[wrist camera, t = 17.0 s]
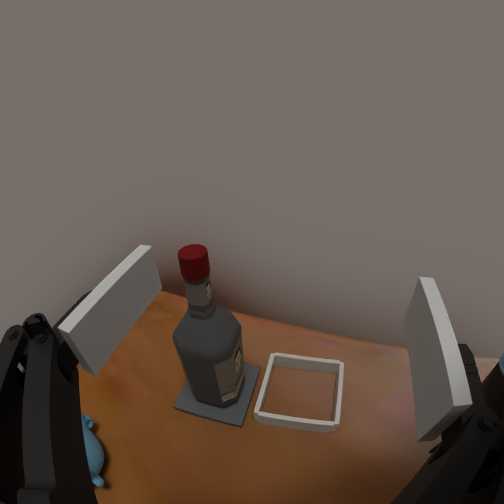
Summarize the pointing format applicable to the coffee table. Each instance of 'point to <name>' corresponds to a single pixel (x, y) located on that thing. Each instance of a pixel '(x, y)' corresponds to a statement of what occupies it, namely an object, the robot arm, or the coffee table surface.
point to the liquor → (208, 336)
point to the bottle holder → (302, 364)
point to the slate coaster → (225, 415)
